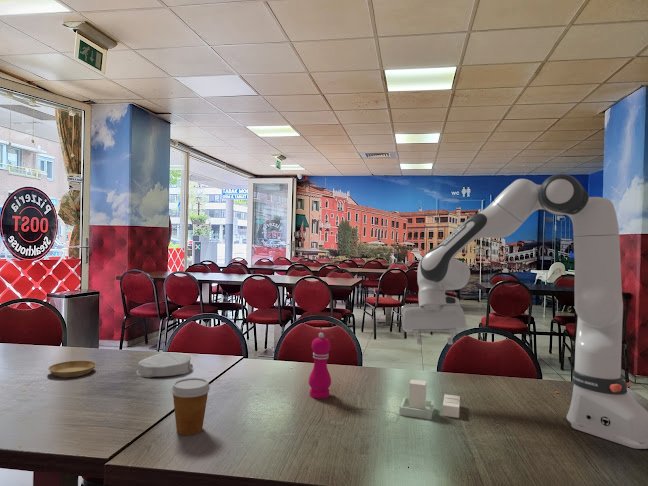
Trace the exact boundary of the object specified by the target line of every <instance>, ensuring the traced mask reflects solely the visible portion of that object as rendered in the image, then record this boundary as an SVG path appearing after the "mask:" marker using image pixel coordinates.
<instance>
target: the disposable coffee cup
mask: <svg viewBox="0 0 648 486" xmlns="http://www.w3.org/2000/svg"><path fill="white" fill-rule="evenodd" d="M210 389H211V385H210V383H209V381H208V380H207V379H205V378H201V377H200V378H199V377H189V378H188V377H187V378H181V379H179V380H175V381H174V382H173V384H172V387H171V389H170V391H171V394H172V398H173V406H174V407H173V408H174V409H173V410H174V416H175V417H174V418H175V419H174V420H175V425H176V426H175V428H176V429H175V430H176V434H178V435H182V436H191V435H192V436H193V435H197V434H199V433H201V432H202V430H203V427H204V423H205V414H206V408H207V401H208V396H209V394H208V393H209V392H210Z"/></svg>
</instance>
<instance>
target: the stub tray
mask: <svg viewBox="0 0 648 486" xmlns="http://www.w3.org/2000/svg"><path fill="white" fill-rule="evenodd" d="M434 409H435V401H434V400H430V399H429V400H428V399H426V409H425V410H422V409H415V408H409V396H408V397H407V396H403V399H402V400H401V403H400V405H399V409H398V410H399V414H398V415H399V416H405V417H412V418H418V419H424V420H432V419H433V415H434V414H433V413H434Z"/></svg>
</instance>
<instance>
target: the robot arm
mask: <svg viewBox="0 0 648 486" xmlns="http://www.w3.org/2000/svg"><path fill="white" fill-rule="evenodd" d="M538 210H540V211H542V212H546V213H548V214H551V215H554V216H558V217H559V216H562V217H564V216H567V217H569V218H570V220H571V223H572V230H573V231H572V232H573V233H572V235H573V252H574V253H573V256H574V283H573V284H574V292H573V293H574V310H575V314H576V315H577V321H576V322H577V323H576V333H575V334H576V335H575V336H576V337H575V342H574V343H575V347H574V350H575V351H574V368H573V370H572V379H571V380H572V381H571V382H572V388H573V389H572V394H571V395H572V396H571V401H570V405H569V408H568V412H567V414H566V419H567V421H568V422H569V423H570V424H571V428H572V429H575V430H578V431H580V432H583V433H587V434H590V435H592V436H596V437H598V438H601V439H603V440H607V441H610V442H612V443H613V442H614V443H616V444H619V445H622V446H625V447H629V448H631V449H638V450H643V449H645V450H646V449H648V410H647V409H645V408H644V407H643V406H642V405H641V404H640V403H639V402H638V401H636V399H635V398H634V397H633V396H631V394H629V392H628V388H629V387H631V384H632V382H631V381H630V382H626V381H625V380H624V379H623V377H622V376H621V375H622V374H621V373H622V372H621V371H622V351H623V350H622V349H623V348H622V344H623V343H622V342H623V319H624V301H623V290H622V289H623V288H622V265H621V264H622V262H621V246H620V229H619V228H620V227H619V222H618V216H617V213H616V208H615V206H614V203H613V202H612V201H611V200H610V199H608V198H606V197H602V196H590V195H589V193H588V192H587V191H586V189H585V188H584V187H583V186H582V184H581V182H580V181H579V180H578V179H577V178H575V177H574V176H572V175H570V174H566V173H558V174H557V173H556V174H553V175H551V176H549V177H547V178H546V179H545V180H543V182H542V183H541V184H537V183H535V182H533V181H532V180H529V179H527V178H518V179H515V180H514V181H512V182H511V184H509V185H508V186H506V188H504V190H502V191H501V192H500V193H499V194H498V195H497V196H496V198H494V200H493V201H492V202H491V203H489V205H488V206H486V207H485V208H483V209H482V210H481V211H480V212H478V213H476V214H473V215H471V216H470V217H468V218H466V219H465V220H464V221H463V222H462V223H461V224H459V226H457V227H456V228H455V229H454V230H453V231H452V232H451V233H450V234H448V235H447V236H446V238H444V239H443V240H442V241H441V242H440V243H439V244H438V245H436V246H435V247H433V248H431V249H430V250H428V251H426V253H424V254H423V256H422V257H421V259H420V261H419V262H418V266H417V273H416V274H417V275H416V276H417V277H416V278H417V280H416V281H417V285H418V294H417V295H418V296H417V297H418V303H411V304H410V303H406V304H404V305H403V306H401V308H400V316H401V317H402V321H401V327H402V330H403V332H405V333H413V336H414V337H415V339H416V340H417V341H416V343H417V345H418V346H422V345H423V339H422V338H421V337H419V332H422V333H423V332H450V337H447V345H453V342H454V341H453V339H454V337H455V335H456V332H457V331H458V332H459V331H461V332H462V331H463V332H464V331H465V330H466V329H467V320H466V316H465V312H464V310H463V309H464V308H462V307H461V302H460V299H459V298H458V297H454V296H452V295H447V294H446V292H447V291H457V290H461V289H464V288H465V287H466V286H467V285H468V284H469V283H470V281H471V280H470V279H471V277H472V276H471V272H472V271H471V269H470V267H469V266H468V265H467V264H466V263H464V262H463V261H461V260H460V259H457V258H455V257H456V256H458V254H459V253H460V252H461V251H463V250H464V249H465V248H466V247H467V246H468V245H469V244H471V242H474V240H478V239H481V238H492V239H502V238H507V237H509V236H510V235H512V234H513V233H515V232H516V231H517V230H518V229H519V228H520V227H521V226H522V225H523V223H524V222H525V221H527V220H528V218H529V217H530V216H531V215H532V214H533V213H534V212H536V211H538Z"/></svg>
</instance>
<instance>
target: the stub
mask: <svg viewBox="0 0 648 486" xmlns="http://www.w3.org/2000/svg"><path fill="white" fill-rule="evenodd" d="M408 387H409V388H408V389H409V391H408V398H409V408H415V409H422V410H425V409H426V400H427V380H419V379H412V378H411V379H410V380H409V385H408Z"/></svg>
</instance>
